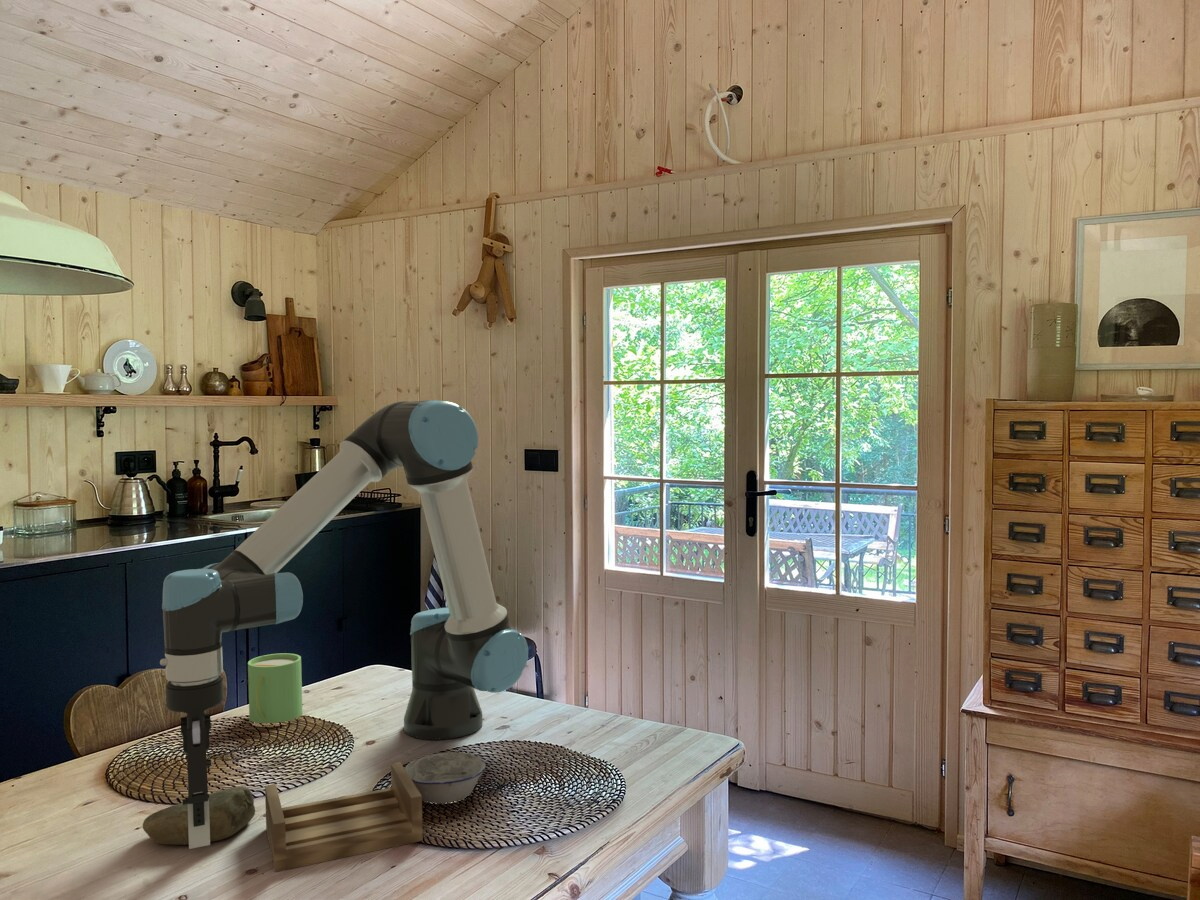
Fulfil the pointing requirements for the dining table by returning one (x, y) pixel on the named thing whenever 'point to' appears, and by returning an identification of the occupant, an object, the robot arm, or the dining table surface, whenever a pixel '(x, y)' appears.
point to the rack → (344, 823)
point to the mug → (275, 688)
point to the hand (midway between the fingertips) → (199, 829)
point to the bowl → (445, 775)
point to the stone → (224, 814)
